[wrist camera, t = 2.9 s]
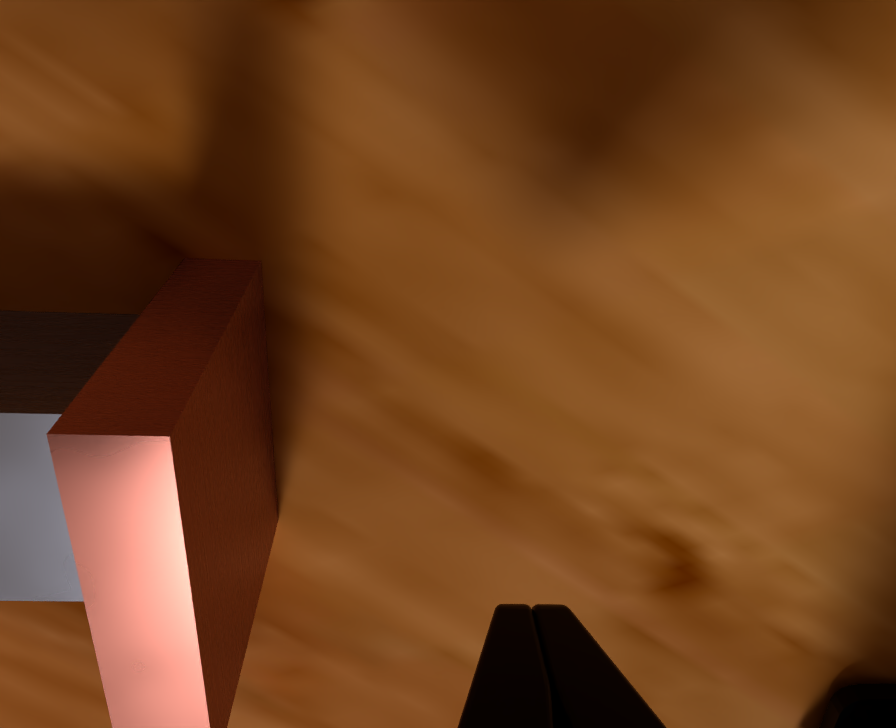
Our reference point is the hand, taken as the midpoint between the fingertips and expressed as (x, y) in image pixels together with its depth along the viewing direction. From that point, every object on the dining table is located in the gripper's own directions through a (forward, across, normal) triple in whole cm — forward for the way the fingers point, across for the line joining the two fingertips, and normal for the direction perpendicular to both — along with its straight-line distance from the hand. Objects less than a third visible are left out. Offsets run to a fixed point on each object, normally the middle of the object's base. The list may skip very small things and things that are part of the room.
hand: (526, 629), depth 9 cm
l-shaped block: (+5, +9, 0) cm, 10 cm away
